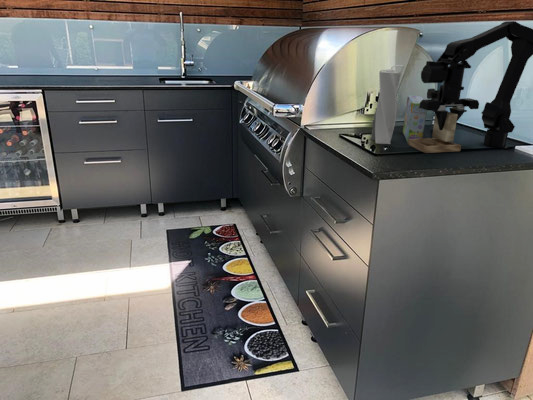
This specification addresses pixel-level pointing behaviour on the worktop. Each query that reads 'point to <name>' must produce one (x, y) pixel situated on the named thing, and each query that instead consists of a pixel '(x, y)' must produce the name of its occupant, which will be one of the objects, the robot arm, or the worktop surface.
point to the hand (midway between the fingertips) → (445, 130)
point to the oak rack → (438, 145)
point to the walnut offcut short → (426, 143)
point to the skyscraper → (386, 106)
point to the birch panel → (445, 128)
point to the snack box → (414, 118)
